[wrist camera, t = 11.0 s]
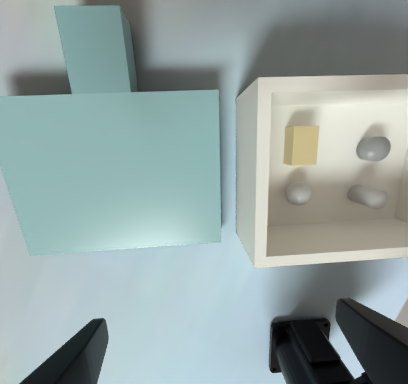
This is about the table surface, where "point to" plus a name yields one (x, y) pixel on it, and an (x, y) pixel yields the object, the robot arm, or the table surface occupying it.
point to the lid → (110, 150)
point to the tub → (322, 169)
